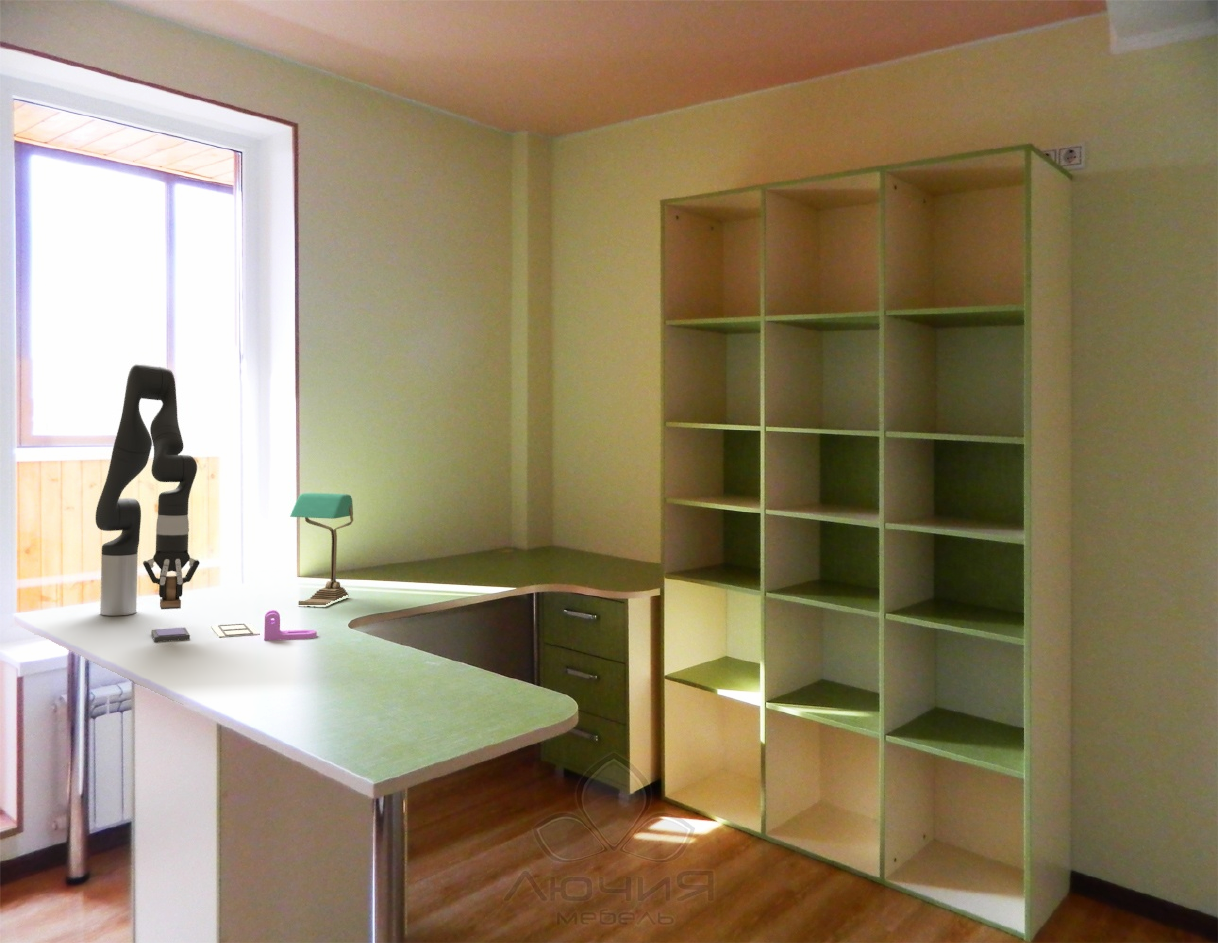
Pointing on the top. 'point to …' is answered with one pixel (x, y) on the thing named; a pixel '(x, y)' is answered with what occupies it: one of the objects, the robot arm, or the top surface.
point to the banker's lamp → (331, 508)
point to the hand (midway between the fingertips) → (170, 598)
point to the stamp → (170, 594)
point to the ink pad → (170, 634)
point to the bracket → (276, 634)
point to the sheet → (235, 630)
